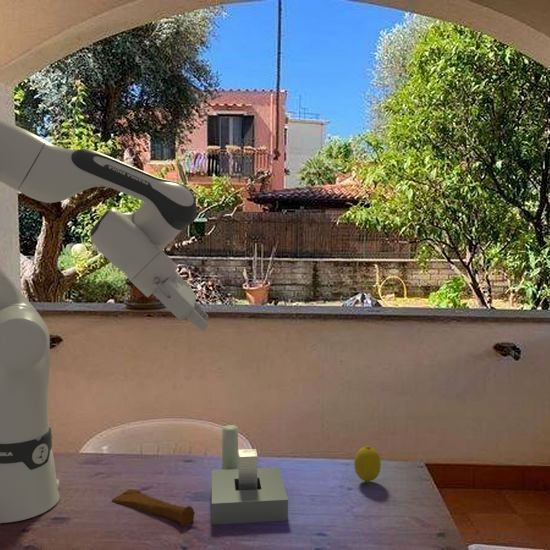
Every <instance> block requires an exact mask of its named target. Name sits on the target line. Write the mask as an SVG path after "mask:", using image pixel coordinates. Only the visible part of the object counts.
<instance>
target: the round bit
mask: <svg viewBox="0 0 550 550" xmlns="http://www.w3.org/2000/svg"><path fill="white" fill-rule="evenodd" d="M221 438H222V439H221V441H222V444H221V447H222V449H221V451H222V453H221V454H222V455H221V456H222V457H221V458H222V459H221V470H222V469H238V450H239V427H238V426H237V425H232V424H231V425H228V424H227V425H224V426H222V429H221Z"/></svg>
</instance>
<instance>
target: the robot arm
mask: <svg viewBox="0 0 550 550" xmlns="http://www.w3.org/2000/svg"><path fill="white" fill-rule="evenodd" d="M0 182H1V183H3V184H5V185H6V186H8V187H10V188H12V189H14V190H15V191H17V192H19V193H21V194H23V195H25V196H26V197H28V198H30V199H33V200H35V201H39V202H43V203H46V204H52V203H58V202H62V201H65V200H68V199H70V198H72V197H73V196H76V195H78V194H79V193H81V192H83V191H86V190H89V189H92V188H97V187H98V188H99V187H103V188H104V187H106V188H110V189H113V190H116V191H117V192H120V193H122V194H125V195H128V196H130V197H132V198H134V199H137V200H140V201H142V202H143V203H142V204H141V205H140V207H138V209H137V210H135V211H130V212H121V211H119V210H117V209H116V208H113V207H111V208H109V209H107V210H106V211H105V212H104V213H103V214H102V215H101V217H100V218H99V219H98V221H97V222H95V224H94V225H93V227H92V228H91V229H90V232H89V237H90V240H91V242H92V243H93V244H94V246H95V247H96V249H97V250H98V251H99V252H100V253H101V254H102V255H103V256H104V257H105V258H106V260H107V261H109V262H110V263H111V264H112V266H114V267H115V268H117V269H119V270H120V271H122V272H123V273H124V274H125V276H126V277H127V279H128V280H129V281H130V282H131V283H132V285H134V286H135V287H136V288H137V289H138V290H139V291H140V292H141V293H142V294H143V295H144V296H145V297H146V298H149V297H150V296H151V295H153V296H155V298H156V299H158V300H159V301H160V303H162V305H163V306H165V308H167V310H169V311H170V313H172V315H173V316H175V318H177V319H179V320H180V321H183V320H185V319H187V320H188V321H189V322H191V323H192V324H193V325H195V326H196V327H197V328H198V329H200V330H201V331H205V330H206V329H207V328H208V327H209V322H208V320H209V315H208V314H207V313H206V311H204V310H203V307H201V306H200V304H199V303H198V302H197V301H196V300H197V295H196V294H195V292H194V291H193V289H192V288H191V287H190V285H189V284H188V283H187V282H186V281H185V280H184V279H183V277H182V276H181V275H180V274H179V273H178V272H177V269H179V265H177V263H175V262H174V261H173V259H171V258H170V256H169V255H167V254H166V252H164V251H163V250H164V249H165V248H166V247H167V246H168V245H170V243H172V242H173V240H174V239H176V237H177V236H178V235H179V234H180V233H181V232H182V231H184V230H185V229H186V228H187V227H188V226H190V225H191V224H192V223H194V222H195V220H196V219H197V213H198V208H197V202H196V198H195V196H194V194H193V192H192V191H191V190H190V189H189V188H187V186H185V185H183V184H181V183H179V182H176V181H173V180H170V179H165V178H161V177H159V176H156V175H153V174H151V173H149V172H147V171H144V170H142V169H140V168H137V167H134V166H133V165H130V164H128V163H126V162H124V161H122V160H119V159H116V158H115V157H111V156H109V155H107V154H104V153H102V152H99V151H97V150H93V149H89V148H80V149H69V148H65V147H61V146H59V145H56V144H53V143H52V142H50V141H47V140H45V139H44V138H42V137H40V136H38V135H37V134H36V133H33V132H31V131H29V130H27V129H25V128H22V127H20V126H18V125H15V124H14V123H11V122H8V121H5V120H2V119H0ZM50 337H51V335H50V330H49V327H48V325H47V323H46V322H45V320H44V319H43V317H42V316H41V315H40V313H39V312H38V310H37V309H36V308H35V306H33V304H32V303H31V302H30V301H29V300H28V299H27V298H26V296H25V295H24V294H23V293H22V292H21V290H20V289H19V288H18V287H17V286H16V284H15V283H14V282H13V281H12V279H11V278H10V277H9V276H8V274H7V273H6V272H5V271H4V269H2V267H1V266H0V524H3V523H4V524H8V523H13V522H15V523H16V522H19V521H25V520H27V519H31V518H34V517H37V516H39V515H42V514H44V513H46V512H47V511H49V510H51V509H52V508H53V507H54V506H56V505H57V504H58V502H59V500H60V496H61V494H60V492H59V488H60V479H58V478H57V474H56V473H57V472H56V466H55V465H56V464H55V459H54V453H53V452H54V451H53V450H52V448H53V433H52V428H51V427H50V419H49V418H50V417H49V415H50V414H49V413H50V412H49V410H50V409H49V381H50V379H49V378H50V353H51V352H50V351H51V350H50V348H51V347H50V346H51V345H50V344H51V341H50Z"/></svg>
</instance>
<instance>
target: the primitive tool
mask: <svg viewBox="0 0 550 550" xmlns="http://www.w3.org/2000/svg"><path fill="white" fill-rule="evenodd" d="M111 500H112V501H111V502H114V503H115V502H117V503H116V504H118V503H120V504H119V505H122V504H124V505H123V506H126V505H127V507H130V506H131V507H130V508H134V507H135V508H134V509H138V510H141V511H144V512H147V513H150V514H154V515H157V516H159V517H165V518H168V519H170V520H173V521H176V522H178V523H179V524H180V525H181V527H187V526H189V525H191V524H192V522H193V521H194V519H195V513H196V512H195V511H194V508H193V507H192V506H190V505H189V506H180V505H176V504H172V503H169V502H166V501H164V500H160V499H158V498H154V497H152V496H150V495H148V494H146V493H142V491H141V490H137V489H127V490H125V491H124V492H123V493H120V494H119V495H117V496H115V497H114V498H112V499H111Z"/></svg>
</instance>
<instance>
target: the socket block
mask: <svg viewBox="0 0 550 550" xmlns="http://www.w3.org/2000/svg"><path fill="white" fill-rule="evenodd" d="M284 521H285V522H286V521H289V498H288V495H287V491H286V488H285V485H284V481H283V477H282V474H281V470H280V467H279V466H272V467H269V466H268V467H257V490H238V469H222V468H221V469H212V470H211V526H212V525H214V526H215V525H231V524H233V525H234V524H250V523H265V522H267V523H268V522H269V523H270V522H284Z"/></svg>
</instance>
